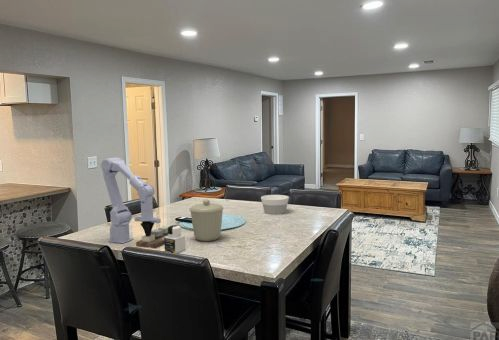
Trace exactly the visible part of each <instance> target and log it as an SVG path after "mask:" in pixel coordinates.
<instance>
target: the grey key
mask: <svg viewBox="0 0 499 340" xmlns="http://www.w3.org/2000/svg"><path fill="white" fill-rule="evenodd" d="M151 235H155V237H158V236H161V235H163V230H158V228H157V229H156V228H155V229H152V231H151Z"/></svg>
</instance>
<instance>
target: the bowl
mask: <svg viewBox="0 0 499 340" xmlns="http://www.w3.org/2000/svg"><path fill="white" fill-rule="evenodd" d="M260 200H261V204H262V207H263V211H264V213H265V214H266V215H271V216H277V215H284V214H286V211H287V207H288V203H289V201H290V196H288V195H284V194H266V195H262V196H261V197H260Z"/></svg>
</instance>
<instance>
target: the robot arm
mask: <svg viewBox="0 0 499 340" xmlns="http://www.w3.org/2000/svg"><path fill="white" fill-rule="evenodd" d="M100 163H101V164H100V167H101V170H102V173H103V174H102V177H103V180H104V182H105V186H106V190H107V192H108V197H109V198H110V203H111V206H112V209H111V210H110V211H109V214H110V215H109V216H110V222H111V225H110V227H109V238H110V239H109V241H108V242H110V243H119V244H125V243H128V242H131V241H132V240H134V238H133V237H130V223H131V221H132V219H133V217H132V215H133V214H132V212H131V211H130V209H129V207H128V206H127V205H125V204H124V203H123V198H122V196H121V192H120V189H119V186H118V183H117V179H116V176H117V174H119V172H120V174H122V175H123V176H124V177H125V178H126V179H128V181H129V185H131V187H133V188H134V189H135V190H136V194H137V195H138V198H139V201H140V216H135V217H134V222H141V223H140V227H142V229H143V231H144V234H145V235H146V236H151V231H153V228H154V225H155V224H161V223H162V222H161V218H157V217H154V209H153V208H154V206H153V205H154V204H153V196H154V194H155V188H154V187H153V185H151V184H148V183H147V182H145V181H144V180H143V179H142V177H141V176H140V175H135V174H134V173H133V171H131V169H129V167H128V166H127V165H126V161H125V160H123V158H122V157H120V156H116V157H109V158H107V157H106V158H104V159H102V162H100ZM145 235H144V236H145Z"/></svg>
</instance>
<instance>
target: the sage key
mask: <svg viewBox="0 0 499 340" xmlns="http://www.w3.org/2000/svg"><path fill="white" fill-rule="evenodd" d="M168 227H169V226H166V225H165V226H164V225H162V226H161V227H158V228H157V230H163V233H168Z"/></svg>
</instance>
